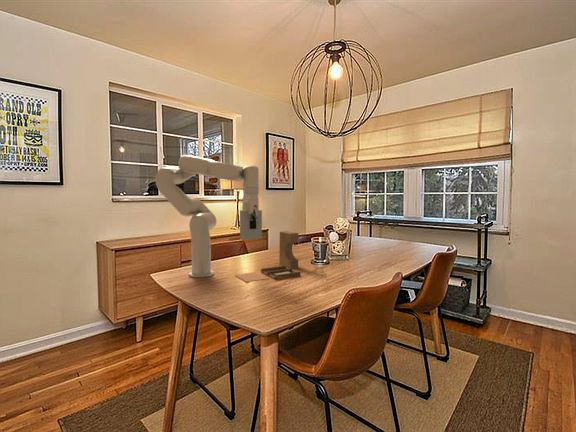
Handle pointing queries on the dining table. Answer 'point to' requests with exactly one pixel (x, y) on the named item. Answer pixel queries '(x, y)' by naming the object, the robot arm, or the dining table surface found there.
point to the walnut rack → (279, 269)
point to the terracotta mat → (251, 277)
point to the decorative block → (287, 249)
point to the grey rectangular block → (245, 226)
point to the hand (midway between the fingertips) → (250, 227)
